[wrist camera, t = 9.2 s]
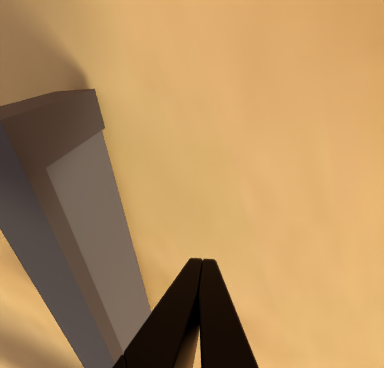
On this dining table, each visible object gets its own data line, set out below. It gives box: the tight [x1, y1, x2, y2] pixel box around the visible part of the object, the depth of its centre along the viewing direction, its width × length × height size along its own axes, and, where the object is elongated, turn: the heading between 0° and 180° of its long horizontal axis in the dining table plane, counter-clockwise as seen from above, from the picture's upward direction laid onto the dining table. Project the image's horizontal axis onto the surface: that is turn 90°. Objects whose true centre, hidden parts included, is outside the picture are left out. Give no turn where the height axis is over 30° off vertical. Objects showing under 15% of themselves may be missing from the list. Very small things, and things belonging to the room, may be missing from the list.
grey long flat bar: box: [0, 89, 151, 368], centre depth 13 cm, size 18×2×5 cm, turn 5°
